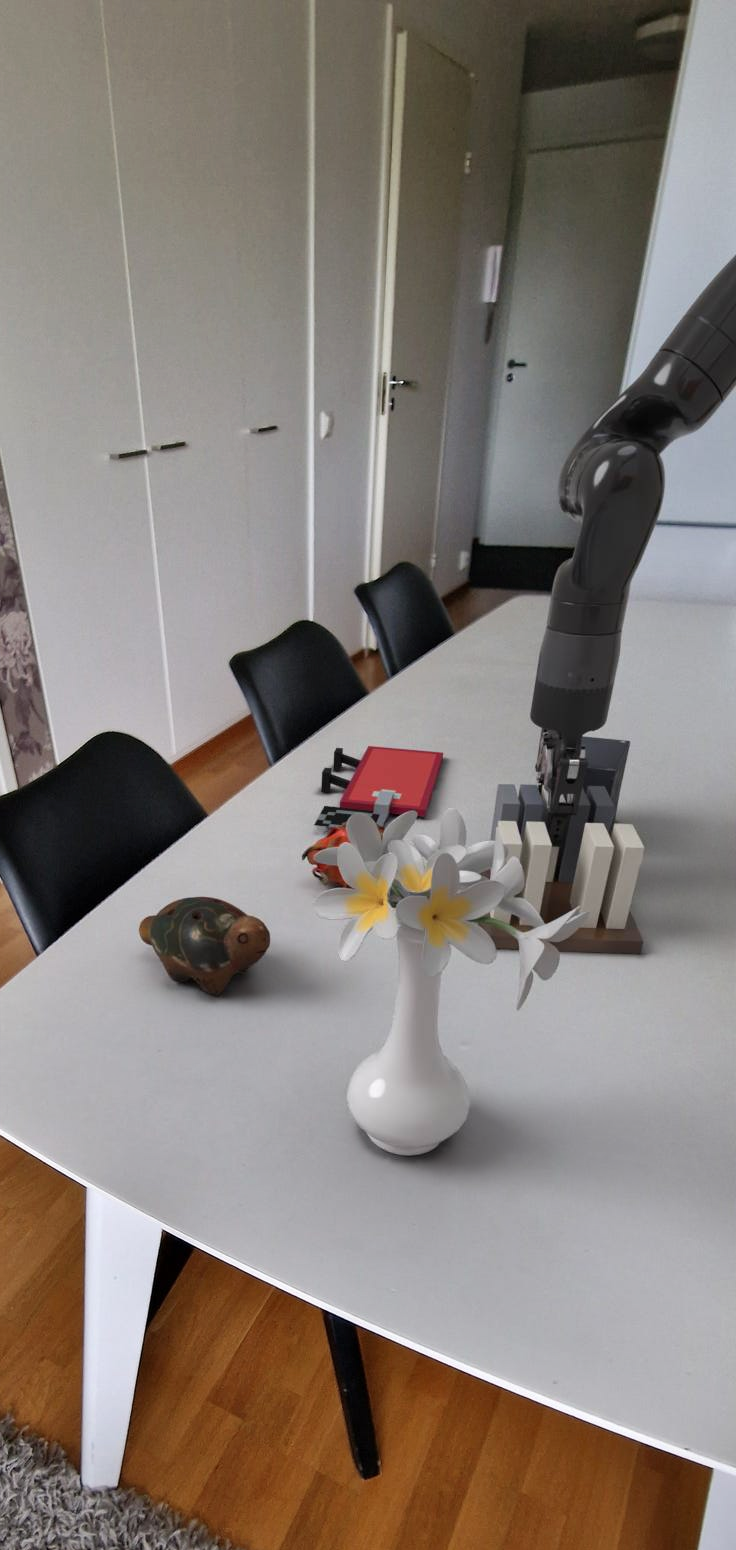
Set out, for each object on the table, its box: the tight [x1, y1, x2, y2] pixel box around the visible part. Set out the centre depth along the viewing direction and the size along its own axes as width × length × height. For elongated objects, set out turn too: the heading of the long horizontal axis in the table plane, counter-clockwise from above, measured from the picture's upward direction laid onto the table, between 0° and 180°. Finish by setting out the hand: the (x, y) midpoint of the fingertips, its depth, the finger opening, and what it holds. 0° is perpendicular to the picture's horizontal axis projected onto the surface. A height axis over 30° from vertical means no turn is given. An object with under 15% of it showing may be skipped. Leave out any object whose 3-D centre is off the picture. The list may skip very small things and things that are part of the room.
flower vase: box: [312, 807, 590, 1157], centre depth 65 cm, size 13×18×25 cm
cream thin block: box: [541, 785, 566, 882], centre depth 101 cm, size 2×6×9 cm, turn 173°
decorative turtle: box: [138, 896, 271, 997], centre depth 89 cm, size 10×15×8 cm, turn 61°
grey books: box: [489, 783, 614, 882], centre depth 101 cm, size 11×6×9 cm, turn 83°
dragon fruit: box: [301, 822, 399, 890], centre depth 103 cm, size 8×8×12 cm
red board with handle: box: [313, 745, 444, 828], centre depth 126 cm, size 30×3×15 cm
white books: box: [490, 821, 645, 929], centre depth 93 cm, size 13×6×9 cm, turn 83°
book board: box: [473, 869, 645, 955], centre depth 100 cm, size 16×20×2 cm
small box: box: [581, 735, 631, 835], centre depth 112 cm, size 11×6×10 cm, turn 154°
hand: (547, 830), depth 101 cm, fingers open, 7 cm apart
